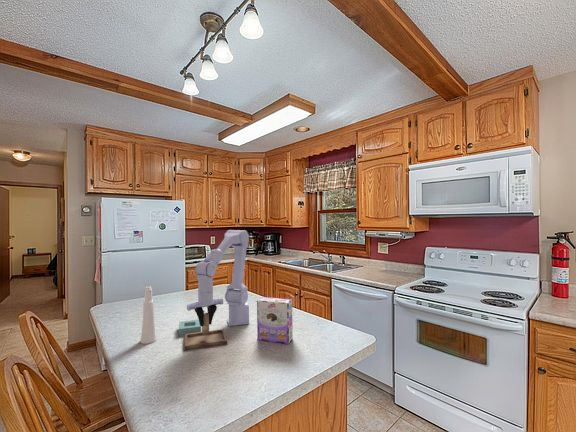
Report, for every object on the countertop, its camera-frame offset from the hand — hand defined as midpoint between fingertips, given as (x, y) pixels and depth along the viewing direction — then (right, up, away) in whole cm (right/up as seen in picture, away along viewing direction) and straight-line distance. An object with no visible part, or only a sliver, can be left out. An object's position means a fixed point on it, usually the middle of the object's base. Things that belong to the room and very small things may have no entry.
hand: (205, 324), depth 115 cm
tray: (0, -7, 0) cm, 7 cm away
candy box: (+28, -7, +1) cm, 29 cm away
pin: (0, -4, 0) cm, 4 cm away
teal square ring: (-10, -7, +10) cm, 16 cm away
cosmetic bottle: (-23, -7, 0) cm, 24 cm away
